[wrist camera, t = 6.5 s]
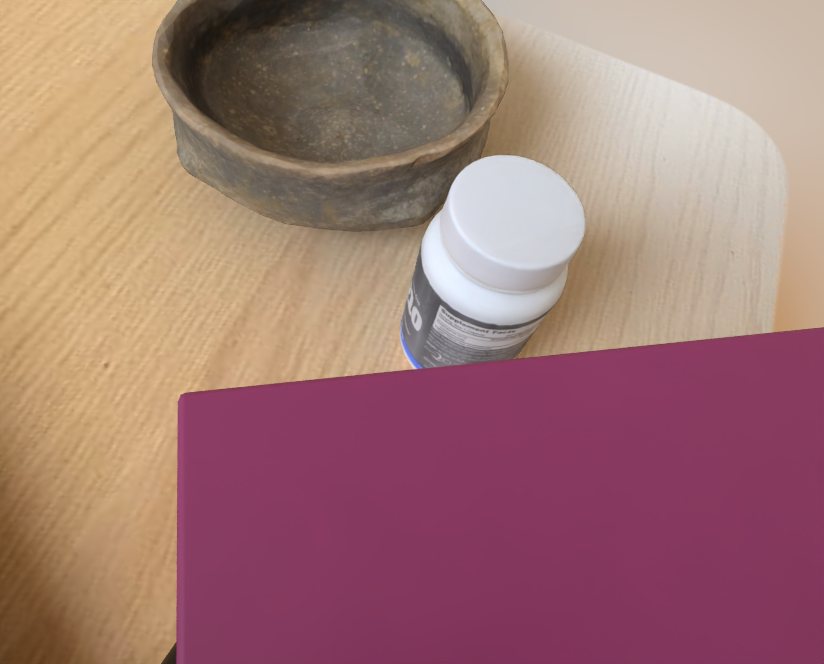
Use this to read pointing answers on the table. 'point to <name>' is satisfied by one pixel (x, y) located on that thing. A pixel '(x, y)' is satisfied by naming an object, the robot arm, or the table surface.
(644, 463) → the mulberry block
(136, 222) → the table surface
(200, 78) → the bowl
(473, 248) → the pill bottle
